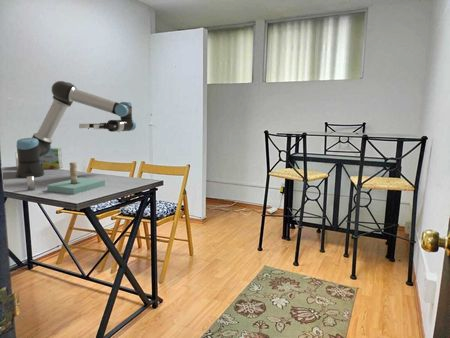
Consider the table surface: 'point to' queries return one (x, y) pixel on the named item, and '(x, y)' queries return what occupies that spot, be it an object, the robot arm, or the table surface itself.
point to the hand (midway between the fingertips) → (86, 126)
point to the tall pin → (73, 173)
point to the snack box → (52, 159)
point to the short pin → (30, 183)
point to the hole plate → (76, 185)
